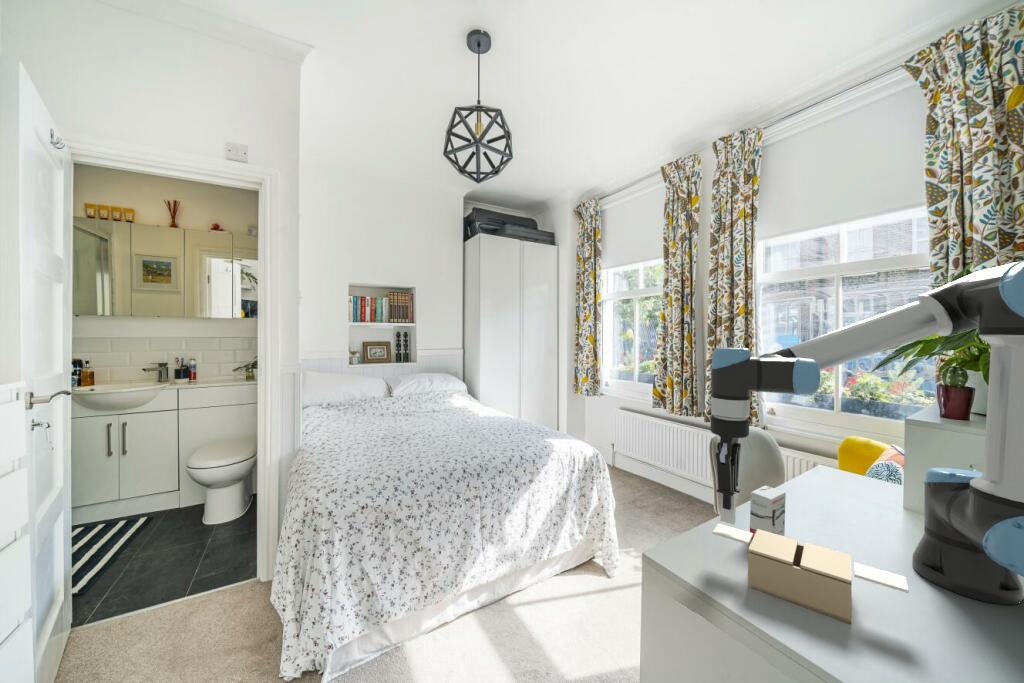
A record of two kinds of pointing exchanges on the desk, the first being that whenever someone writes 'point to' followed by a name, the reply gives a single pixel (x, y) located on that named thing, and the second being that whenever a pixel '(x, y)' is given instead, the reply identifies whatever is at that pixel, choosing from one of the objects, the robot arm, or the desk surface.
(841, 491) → the desk surface
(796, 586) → the carton
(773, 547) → the far flap
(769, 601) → the desk surface
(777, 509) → the ink box
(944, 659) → the desk surface
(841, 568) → the near flap
